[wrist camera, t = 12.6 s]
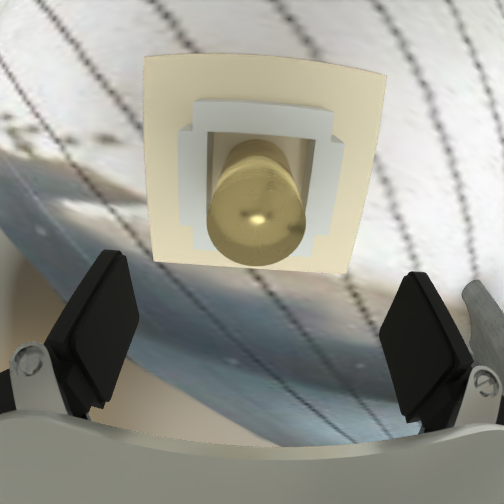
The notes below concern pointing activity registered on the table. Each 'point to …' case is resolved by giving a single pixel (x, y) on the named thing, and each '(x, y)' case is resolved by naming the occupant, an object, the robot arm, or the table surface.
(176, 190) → the sleeve block
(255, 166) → the cylinder
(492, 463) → the robot arm
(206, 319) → the table surface
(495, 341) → the hip flask
